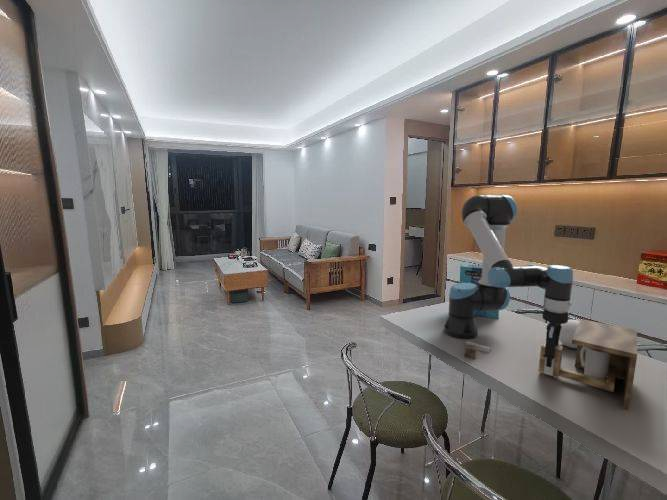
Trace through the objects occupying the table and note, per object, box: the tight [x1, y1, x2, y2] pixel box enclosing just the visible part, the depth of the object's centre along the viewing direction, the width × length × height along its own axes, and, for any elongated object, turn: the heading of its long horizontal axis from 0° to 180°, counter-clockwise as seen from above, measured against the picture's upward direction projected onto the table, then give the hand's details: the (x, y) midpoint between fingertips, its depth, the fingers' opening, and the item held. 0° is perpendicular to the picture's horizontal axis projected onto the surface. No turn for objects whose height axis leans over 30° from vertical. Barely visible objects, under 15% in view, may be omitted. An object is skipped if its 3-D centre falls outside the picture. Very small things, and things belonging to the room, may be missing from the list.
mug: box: [580, 346, 611, 381], centre depth 119 cm, size 10×7×12 cm, turn 7°
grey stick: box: [465, 340, 492, 354], centre depth 143 cm, size 10×2×2 cm, turn 45°
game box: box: [459, 263, 500, 320], centre depth 181 cm, size 20×6×27 cm, turn 66°
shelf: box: [572, 318, 638, 412], centre depth 114 cm, size 16×24×18 cm, turn 139°
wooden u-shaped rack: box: [538, 341, 616, 393], centre depth 119 cm, size 21×14×10 cm, turn 49°
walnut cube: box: [464, 344, 477, 360], centre depth 136 cm, size 4×4×4 cm
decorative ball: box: [559, 319, 580, 349], centre depth 143 cm, size 12×12×12 cm
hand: (549, 371), depth 121 cm, fingers closed on wooden u-shaped rack, 4 cm apart
